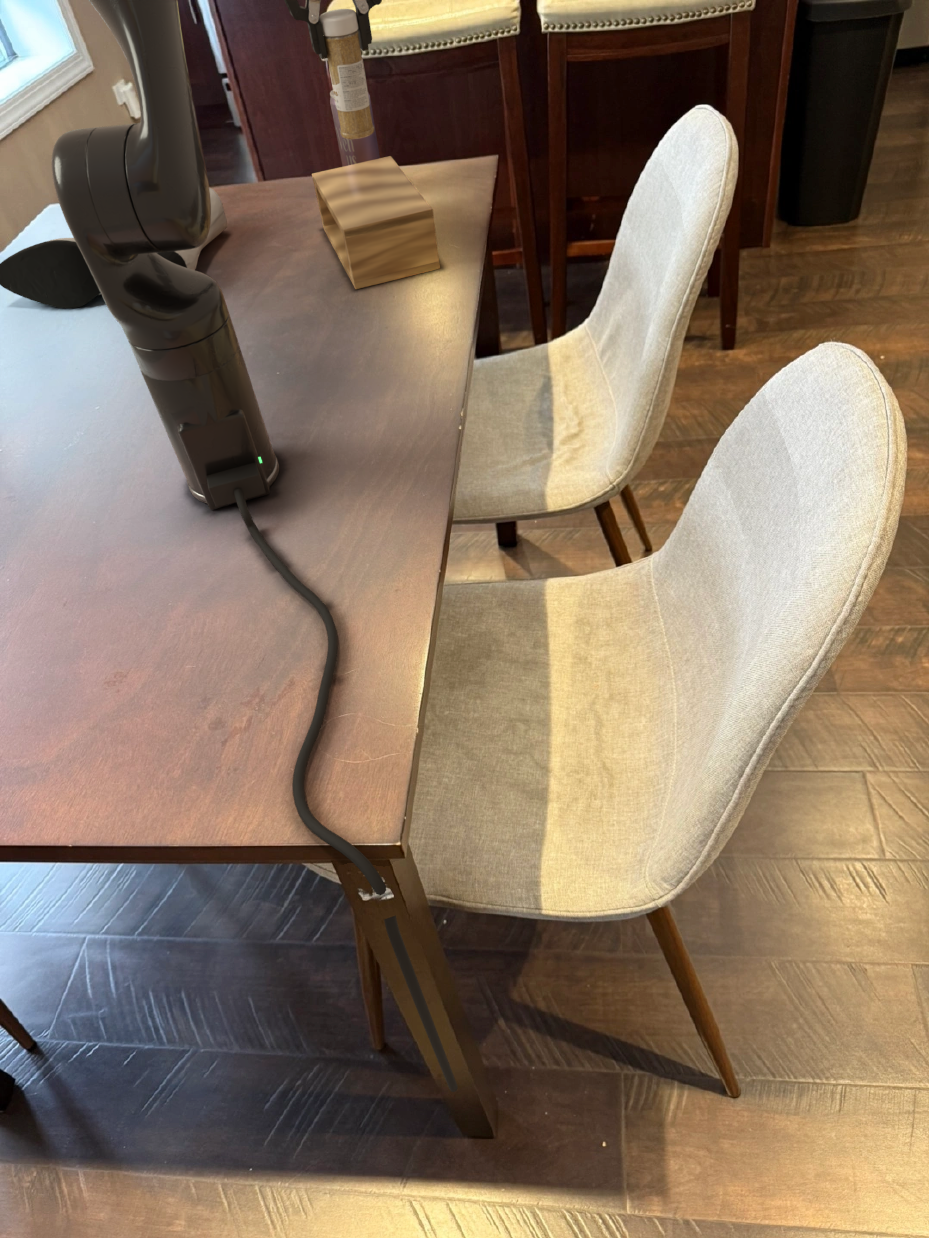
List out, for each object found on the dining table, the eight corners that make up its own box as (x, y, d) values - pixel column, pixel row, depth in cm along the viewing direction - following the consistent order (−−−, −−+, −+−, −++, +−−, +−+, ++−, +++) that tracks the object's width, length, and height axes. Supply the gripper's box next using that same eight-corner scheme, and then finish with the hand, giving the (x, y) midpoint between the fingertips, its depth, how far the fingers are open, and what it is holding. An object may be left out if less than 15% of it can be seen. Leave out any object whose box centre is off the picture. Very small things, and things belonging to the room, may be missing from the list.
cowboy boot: (165, 250, 112) (231, 176, 129) (-28, 239, 116) (60, 168, 132) (184, 318, 119) (244, 239, 136) (1, 306, 123) (82, 231, 139)
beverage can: (392, 190, 139) (376, 85, 128) (370, 205, 136) (352, 98, 125) (363, 186, 141) (344, 82, 130) (341, 200, 138) (320, 95, 127)
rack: (440, 268, 118) (432, 208, 112) (355, 289, 116) (343, 229, 111) (399, 211, 133) (390, 155, 127) (323, 229, 131) (311, 173, 125)
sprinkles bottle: (340, 132, 115) (317, 11, 105) (373, 126, 115) (354, 5, 105) (342, 143, 112) (318, 20, 102) (377, 137, 112) (357, 14, 102)
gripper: (253, -113, 91) (292, 72, 103) (383, -136, 93) (407, 49, 105) (243, -120, 96) (282, 58, 108) (367, -141, 98) (392, 35, 110)
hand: (344, 52), depth 107 cm, fingers closed on sprinkles bottle, 4 cm apart
